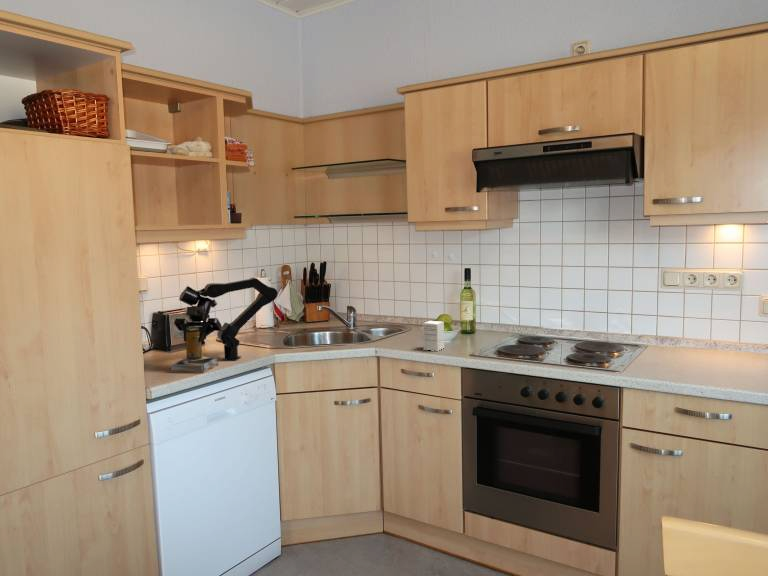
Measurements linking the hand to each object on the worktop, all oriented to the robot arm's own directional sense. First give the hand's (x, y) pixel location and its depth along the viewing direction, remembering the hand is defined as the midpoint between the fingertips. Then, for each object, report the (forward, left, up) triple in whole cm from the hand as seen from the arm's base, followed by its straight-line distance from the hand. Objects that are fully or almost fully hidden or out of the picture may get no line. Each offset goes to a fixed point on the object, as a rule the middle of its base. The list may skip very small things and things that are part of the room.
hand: (192, 341), depth 253 cm
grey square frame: (-1, 0, -12) cm, 12 cm away
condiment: (-1, +1, -7) cm, 7 cm away
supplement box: (-44, +94, -12) cm, 105 cm away
